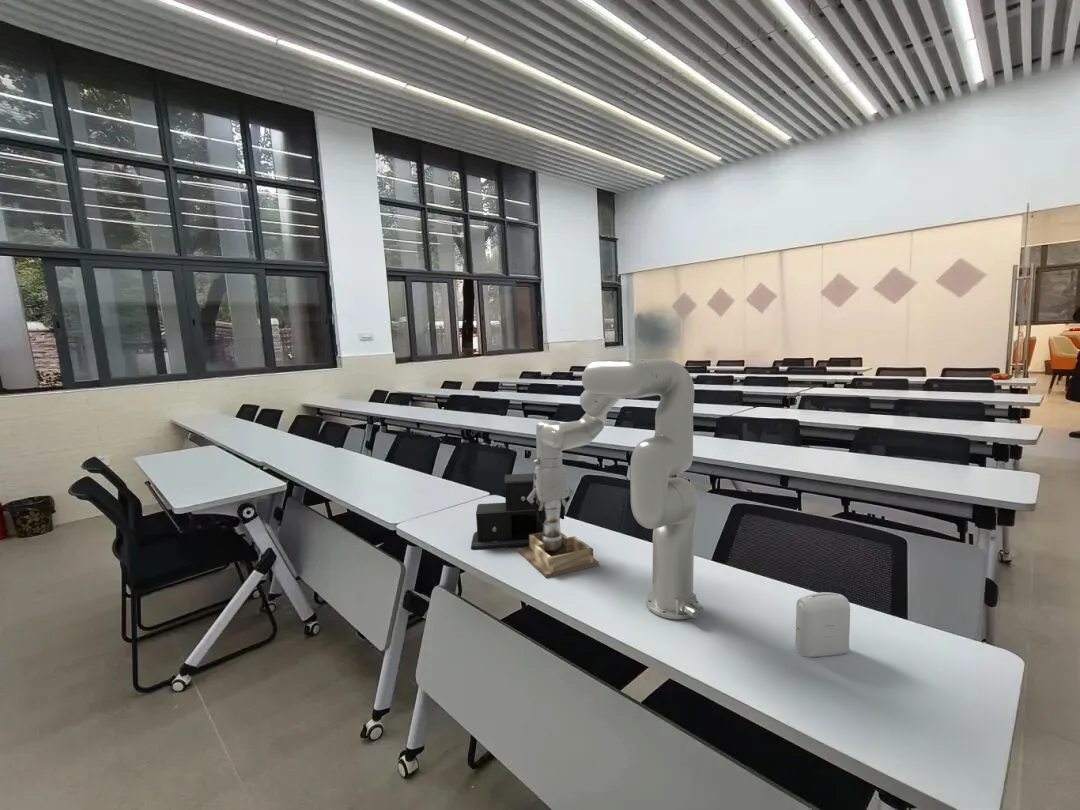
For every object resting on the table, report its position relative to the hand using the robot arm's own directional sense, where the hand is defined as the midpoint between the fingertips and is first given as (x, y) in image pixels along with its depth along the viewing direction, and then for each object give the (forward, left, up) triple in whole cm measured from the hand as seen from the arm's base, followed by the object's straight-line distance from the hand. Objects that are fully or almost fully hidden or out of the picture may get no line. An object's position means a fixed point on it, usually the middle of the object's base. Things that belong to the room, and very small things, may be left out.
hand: (551, 519), depth 153 cm
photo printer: (-69, -27, -11) cm, 75 cm away
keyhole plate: (-3, 0, -11) cm, 11 cm away
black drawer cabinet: (+16, +8, -11) cm, 21 cm away
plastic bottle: (0, 0, -10) cm, 10 cm away
